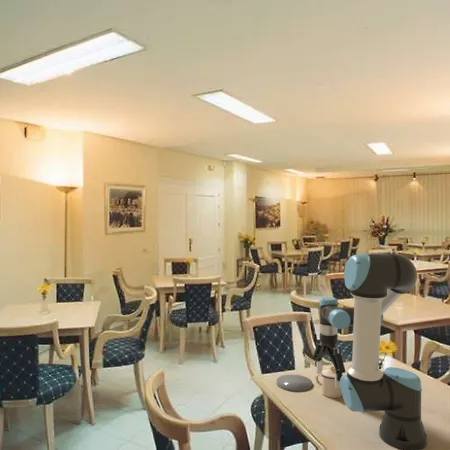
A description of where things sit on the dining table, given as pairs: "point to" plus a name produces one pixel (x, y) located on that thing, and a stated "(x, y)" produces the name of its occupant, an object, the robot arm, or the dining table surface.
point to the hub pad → (294, 382)
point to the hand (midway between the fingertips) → (328, 381)
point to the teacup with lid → (329, 383)
